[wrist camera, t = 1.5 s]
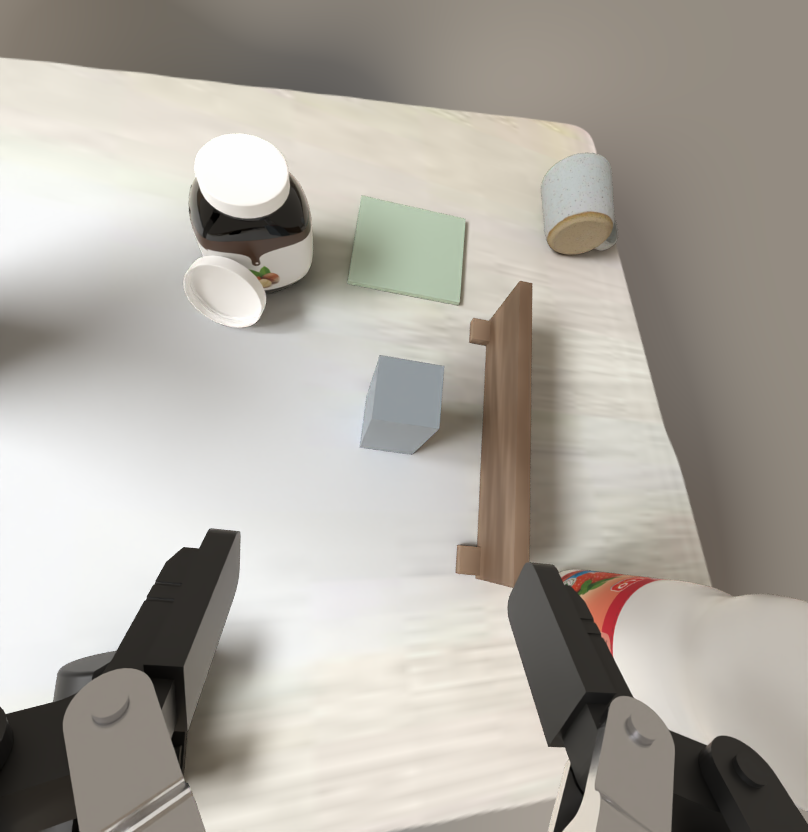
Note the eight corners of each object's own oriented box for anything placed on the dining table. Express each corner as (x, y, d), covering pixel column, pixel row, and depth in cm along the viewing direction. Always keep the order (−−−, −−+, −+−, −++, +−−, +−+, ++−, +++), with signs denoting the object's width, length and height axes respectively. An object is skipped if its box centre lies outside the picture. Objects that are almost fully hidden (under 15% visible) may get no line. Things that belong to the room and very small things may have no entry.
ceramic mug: (534, 255, 50) (571, 207, 43) (528, 198, 52) (563, 143, 45) (614, 266, 52) (662, 222, 45) (605, 211, 54) (650, 161, 47)
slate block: (359, 447, 40) (371, 418, 30) (366, 397, 41) (379, 354, 32) (413, 454, 40) (441, 429, 31) (417, 405, 42) (446, 366, 32)
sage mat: (347, 283, 44) (347, 280, 44) (361, 199, 47) (361, 195, 47) (458, 305, 46) (459, 302, 45) (463, 222, 49) (465, 218, 49)
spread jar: (304, 226, 45) (299, 126, 34) (327, 321, 43) (329, 245, 32) (183, 237, 42) (135, 131, 31) (199, 339, 40) (153, 263, 29)
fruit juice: (516, 665, 37) (1008, 981, 11) (535, 556, 40) (954, 587, 14) (614, 693, 38) (1294, 1049, 11) (625, 583, 41) (1184, 665, 14)
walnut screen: (455, 576, 38) (488, 585, 30) (470, 320, 46) (500, 276, 38) (507, 581, 39) (553, 591, 31) (514, 328, 46) (551, 287, 39)
